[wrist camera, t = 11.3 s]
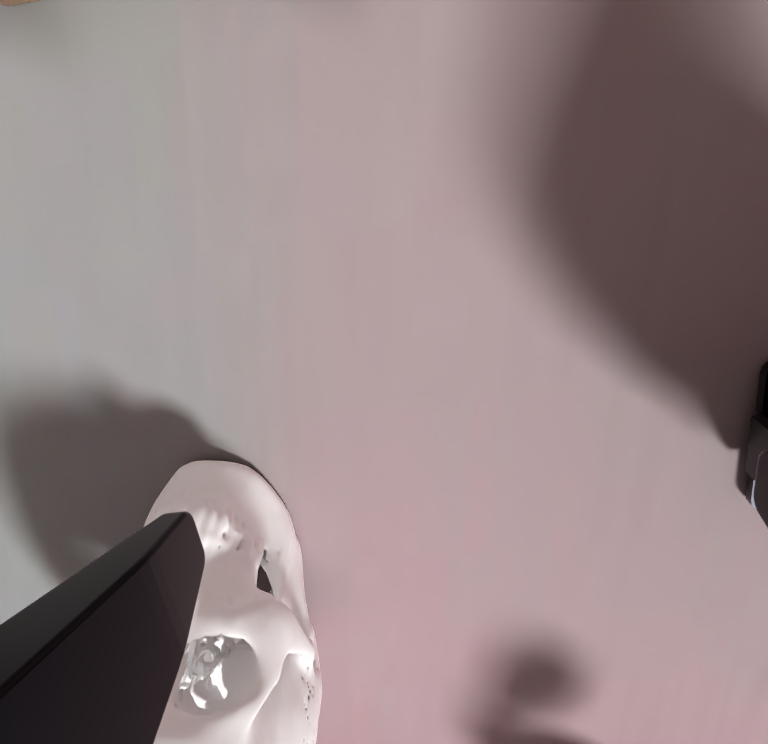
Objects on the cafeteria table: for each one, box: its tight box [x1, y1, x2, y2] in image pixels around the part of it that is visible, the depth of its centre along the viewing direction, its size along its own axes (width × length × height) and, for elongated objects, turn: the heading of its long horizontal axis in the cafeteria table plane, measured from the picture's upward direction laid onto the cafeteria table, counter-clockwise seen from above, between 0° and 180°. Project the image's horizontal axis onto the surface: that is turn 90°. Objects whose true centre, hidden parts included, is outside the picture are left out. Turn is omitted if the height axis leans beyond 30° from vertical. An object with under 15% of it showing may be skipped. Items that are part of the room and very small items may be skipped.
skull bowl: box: [144, 460, 322, 744], centre depth 24 cm, size 10×14×12 cm
